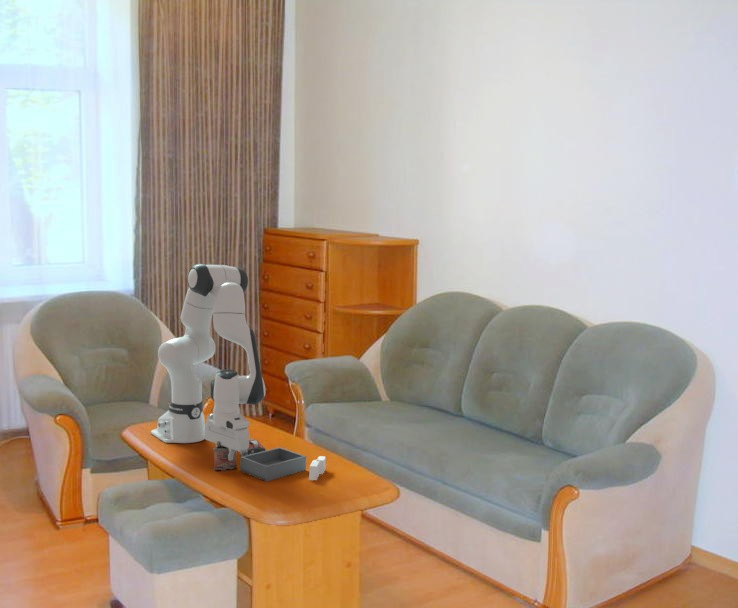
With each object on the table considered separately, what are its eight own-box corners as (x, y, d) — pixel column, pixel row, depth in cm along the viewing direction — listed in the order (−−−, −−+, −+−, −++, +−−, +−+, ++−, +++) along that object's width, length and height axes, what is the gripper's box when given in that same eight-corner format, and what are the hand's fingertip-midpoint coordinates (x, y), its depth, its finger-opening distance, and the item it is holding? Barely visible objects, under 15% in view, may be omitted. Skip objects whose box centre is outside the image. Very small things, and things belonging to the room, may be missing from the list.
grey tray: (239, 471, 302) (240, 456, 301) (279, 460, 314) (279, 447, 314) (266, 481, 292) (266, 466, 292) (305, 470, 305) (306, 456, 304)
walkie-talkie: (233, 448, 329) (248, 464, 310) (233, 436, 328) (248, 452, 310) (256, 446, 332) (272, 462, 314) (256, 434, 331) (272, 450, 313)
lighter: (215, 471, 300) (215, 442, 299) (212, 468, 303) (212, 439, 302) (238, 468, 304) (238, 439, 303) (234, 466, 307) (234, 437, 306)
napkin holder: (313, 485, 292) (314, 468, 291) (291, 476, 300) (291, 459, 299) (346, 476, 303) (347, 459, 302) (324, 467, 310) (324, 451, 310)
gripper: (200, 413, 306) (199, 453, 308) (237, 426, 292) (237, 467, 294) (215, 411, 310) (214, 449, 312) (252, 423, 297) (252, 463, 298)
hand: (225, 458), depth 303 cm, fingers closed on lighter, 3 cm apart
